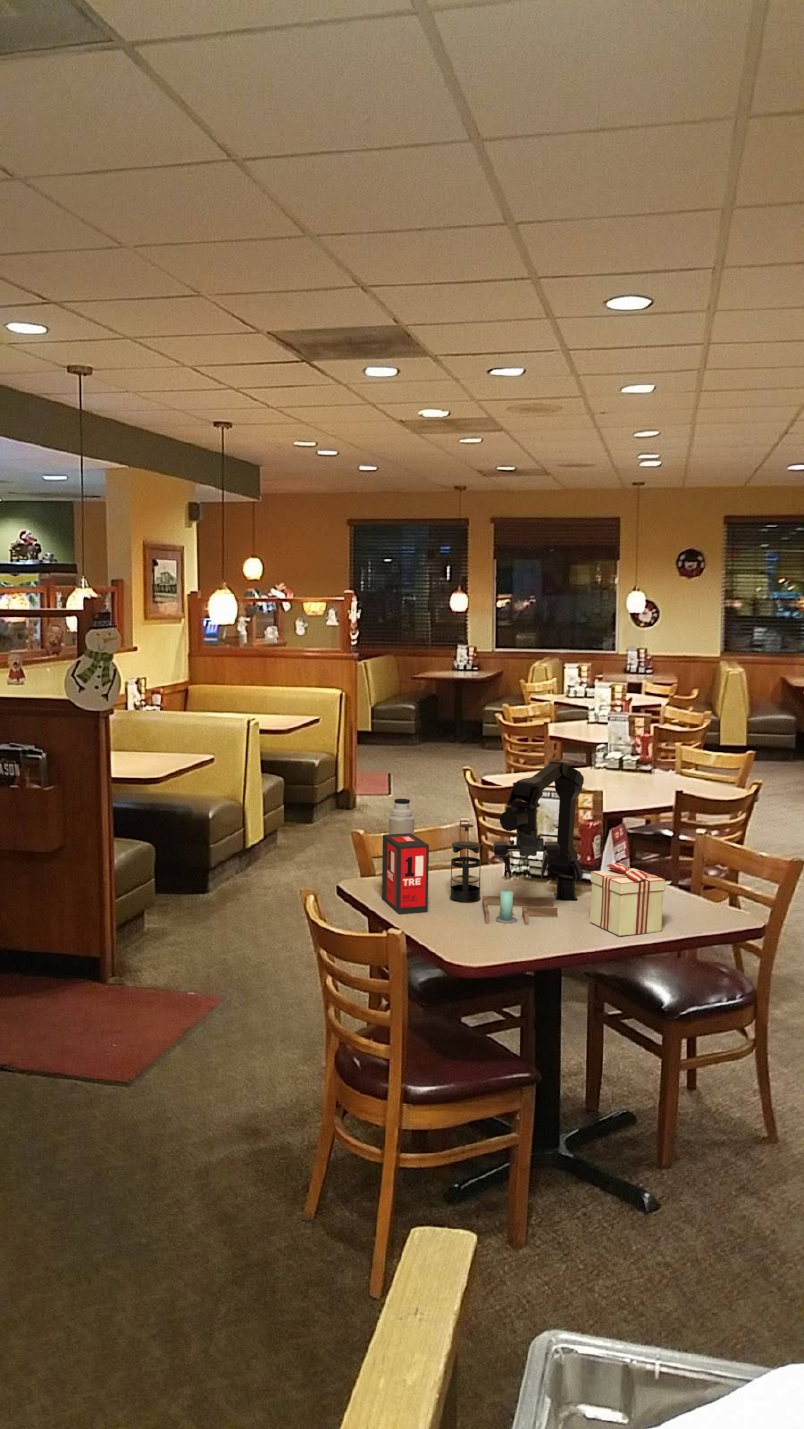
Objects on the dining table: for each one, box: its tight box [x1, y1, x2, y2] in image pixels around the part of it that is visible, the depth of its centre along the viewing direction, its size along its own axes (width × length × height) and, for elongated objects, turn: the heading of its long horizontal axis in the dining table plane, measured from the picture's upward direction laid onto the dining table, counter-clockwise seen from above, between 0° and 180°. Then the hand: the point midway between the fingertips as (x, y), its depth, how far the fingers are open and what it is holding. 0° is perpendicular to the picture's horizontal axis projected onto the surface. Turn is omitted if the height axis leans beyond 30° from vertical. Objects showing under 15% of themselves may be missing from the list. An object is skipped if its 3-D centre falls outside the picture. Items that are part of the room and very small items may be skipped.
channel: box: [481, 895, 558, 926], centre depth 320 cm, size 20×21×2 cm
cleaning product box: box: [381, 833, 430, 915], centre depth 326 cm, size 16×9×20 cm, turn 18°
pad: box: [495, 915, 518, 924], centre depth 314 cm, size 6×6×1 cm
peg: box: [499, 889, 514, 921], centre depth 313 cm, size 4×4×8 cm
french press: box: [449, 823, 482, 904], centre depth 335 cm, size 12×9×23 cm
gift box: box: [589, 862, 666, 937], centre depth 309 cm, size 17×18×17 cm
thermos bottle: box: [388, 798, 415, 836], centre depth 347 cm, size 8×8×28 cm
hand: (526, 877), depth 317 cm, fingers open, 9 cm apart
